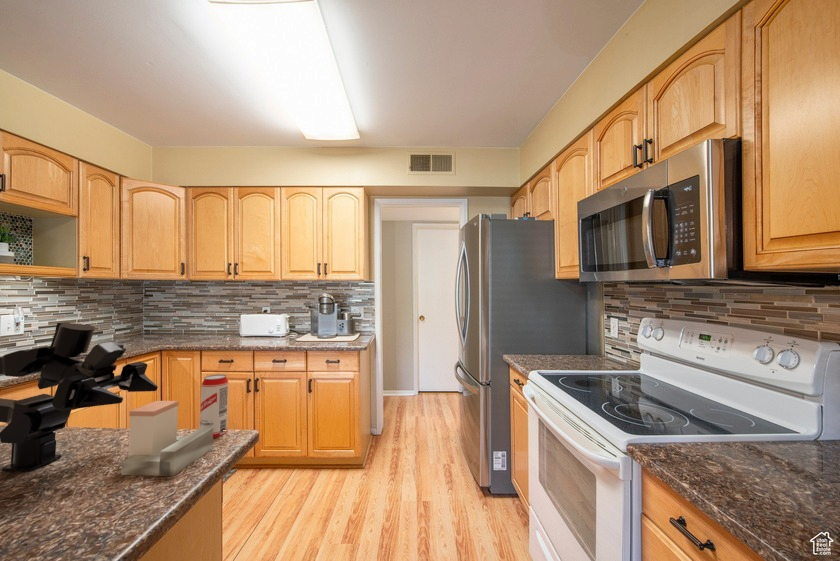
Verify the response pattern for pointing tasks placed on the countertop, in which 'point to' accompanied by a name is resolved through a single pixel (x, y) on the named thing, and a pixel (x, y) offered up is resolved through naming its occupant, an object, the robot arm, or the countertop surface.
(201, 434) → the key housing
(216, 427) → the beer can
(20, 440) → the robot arm
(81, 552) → the countertop surface
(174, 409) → the push key
